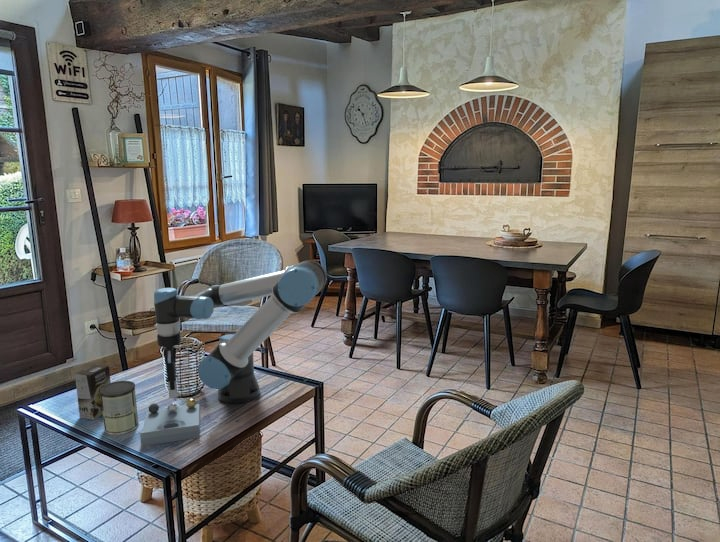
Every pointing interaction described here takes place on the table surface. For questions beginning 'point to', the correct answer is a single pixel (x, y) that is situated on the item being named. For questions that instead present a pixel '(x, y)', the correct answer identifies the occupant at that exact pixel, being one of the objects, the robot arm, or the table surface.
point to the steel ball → (172, 407)
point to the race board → (171, 425)
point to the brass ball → (191, 403)
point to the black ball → (153, 408)
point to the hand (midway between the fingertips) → (173, 396)
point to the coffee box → (91, 390)
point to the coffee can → (119, 407)
